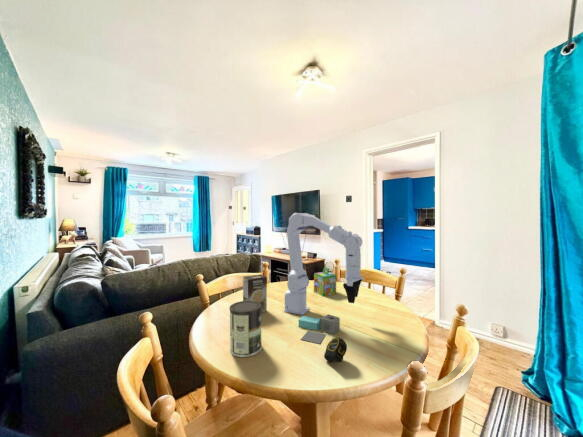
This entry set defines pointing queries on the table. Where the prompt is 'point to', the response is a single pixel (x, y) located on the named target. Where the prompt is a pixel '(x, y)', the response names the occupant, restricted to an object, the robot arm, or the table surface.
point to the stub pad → (313, 337)
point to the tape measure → (335, 350)
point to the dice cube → (330, 324)
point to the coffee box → (255, 290)
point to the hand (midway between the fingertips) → (353, 299)
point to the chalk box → (325, 283)
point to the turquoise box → (310, 322)
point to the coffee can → (245, 328)
